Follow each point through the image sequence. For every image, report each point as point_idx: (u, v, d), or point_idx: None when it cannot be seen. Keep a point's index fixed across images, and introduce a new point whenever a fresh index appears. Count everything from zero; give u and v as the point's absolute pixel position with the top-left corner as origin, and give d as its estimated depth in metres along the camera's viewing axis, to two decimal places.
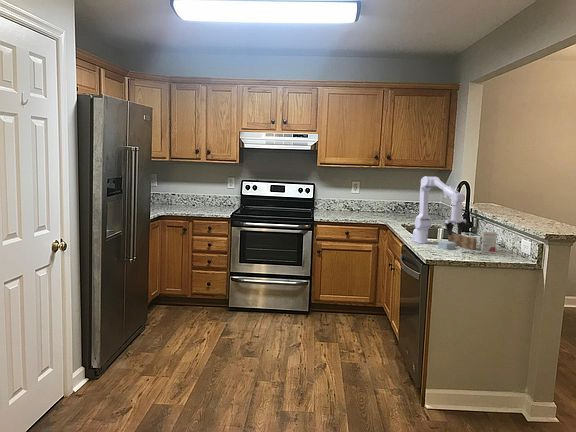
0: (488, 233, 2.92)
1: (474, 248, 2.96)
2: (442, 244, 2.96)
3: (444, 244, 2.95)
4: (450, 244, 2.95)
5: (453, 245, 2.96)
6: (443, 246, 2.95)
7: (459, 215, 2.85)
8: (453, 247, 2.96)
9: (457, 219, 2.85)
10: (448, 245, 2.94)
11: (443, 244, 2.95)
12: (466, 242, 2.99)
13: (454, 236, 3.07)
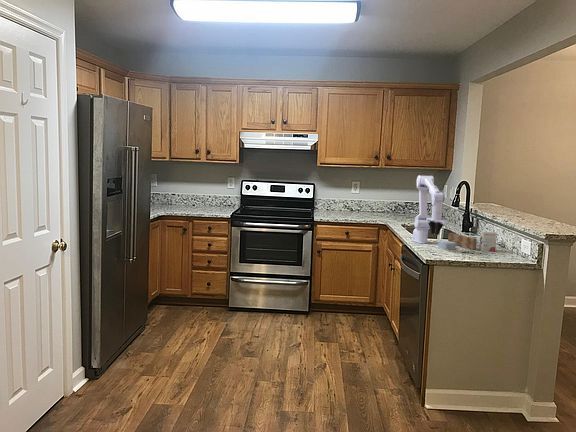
0: (488, 233, 2.92)
1: (474, 248, 2.96)
2: (442, 244, 2.96)
3: (444, 244, 2.95)
4: (450, 244, 2.94)
5: (453, 245, 2.96)
6: (443, 246, 2.95)
7: (433, 214, 2.89)
8: (453, 247, 2.96)
9: (431, 218, 2.90)
10: (448, 245, 2.94)
11: (443, 244, 2.95)
12: (466, 242, 2.99)
13: (454, 236, 3.07)
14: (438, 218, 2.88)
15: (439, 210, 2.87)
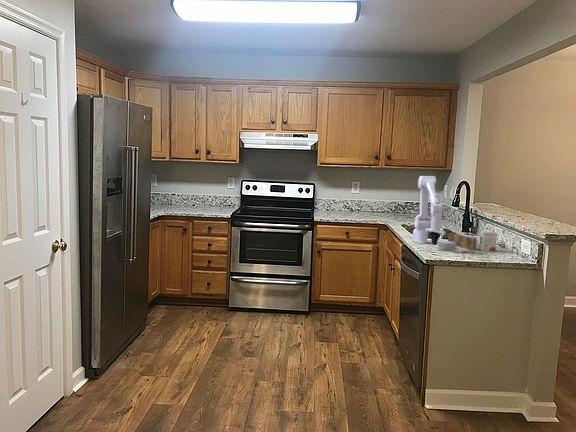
0: (488, 233, 2.92)
1: (474, 248, 2.96)
2: (442, 244, 2.96)
3: (444, 244, 2.95)
4: (450, 244, 2.94)
5: (453, 245, 2.96)
6: (443, 246, 2.95)
7: (432, 225, 2.90)
8: (453, 247, 2.96)
9: (430, 228, 2.91)
10: (448, 245, 2.94)
11: (443, 244, 2.95)
12: (466, 242, 2.99)
13: (454, 236, 3.07)
14: (437, 229, 2.89)
15: (438, 221, 2.88)
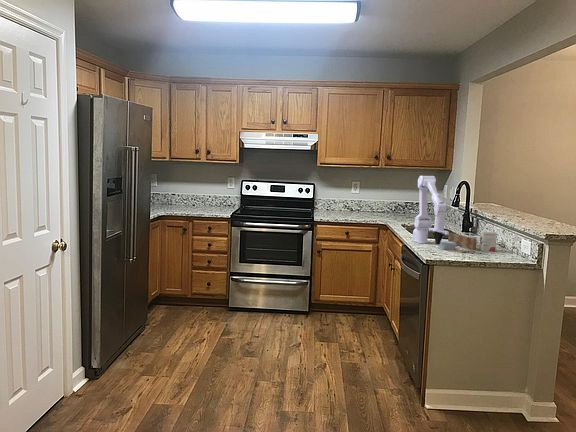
0: (488, 233, 2.92)
1: (474, 248, 2.96)
2: (442, 244, 2.96)
3: (444, 244, 2.95)
4: (450, 244, 2.94)
5: (453, 245, 2.96)
6: (443, 246, 2.95)
7: (435, 225, 2.91)
8: (453, 247, 2.96)
9: (434, 228, 2.93)
10: (448, 245, 2.94)
11: (443, 244, 2.95)
12: (466, 242, 2.99)
13: (454, 236, 3.07)
14: (441, 228, 2.90)
15: (442, 220, 2.89)
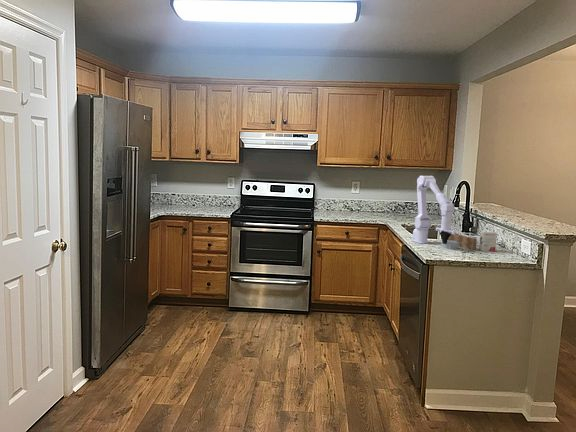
0: (488, 233, 2.92)
1: (474, 248, 2.96)
2: (445, 244, 2.97)
3: (447, 244, 2.96)
4: (453, 244, 2.96)
5: (456, 245, 2.97)
6: (446, 246, 2.97)
7: (442, 224, 2.94)
8: (456, 247, 2.97)
9: (441, 228, 2.95)
10: (451, 244, 2.95)
11: (446, 244, 2.97)
12: (466, 242, 2.99)
13: (454, 236, 3.07)
14: (447, 228, 2.93)
15: (450, 220, 2.93)
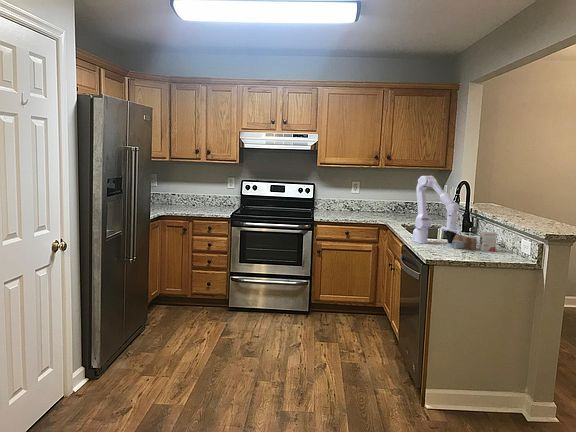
0: (488, 233, 2.92)
1: (474, 248, 2.96)
2: (451, 243, 2.99)
3: (453, 243, 2.98)
4: (459, 243, 2.98)
5: (462, 244, 2.99)
6: (452, 245, 2.99)
7: (447, 224, 2.96)
8: (462, 246, 2.99)
9: (446, 227, 2.97)
10: (457, 244, 2.97)
11: (452, 243, 2.99)
12: (466, 242, 2.99)
13: None
14: (453, 227, 2.95)
15: (456, 220, 2.95)
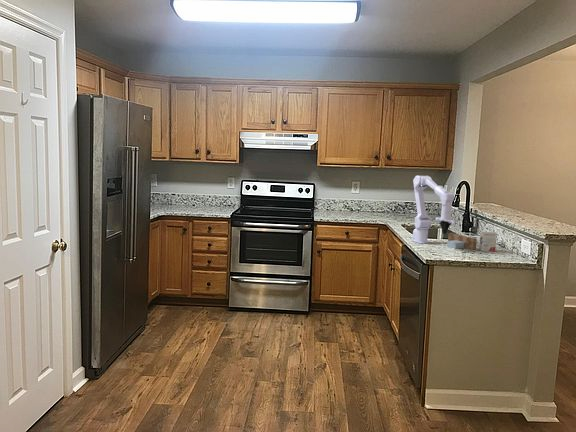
0: (488, 233, 2.92)
1: (474, 248, 2.96)
2: (451, 243, 2.99)
3: (453, 243, 2.98)
4: (459, 243, 2.98)
5: (462, 244, 2.99)
6: (452, 245, 2.99)
7: (442, 214, 2.93)
8: (462, 246, 2.99)
9: (441, 217, 2.94)
10: (457, 244, 2.97)
11: (452, 243, 2.99)
12: (466, 242, 2.99)
13: (454, 236, 3.07)
14: (447, 218, 2.91)
15: (450, 210, 2.91)
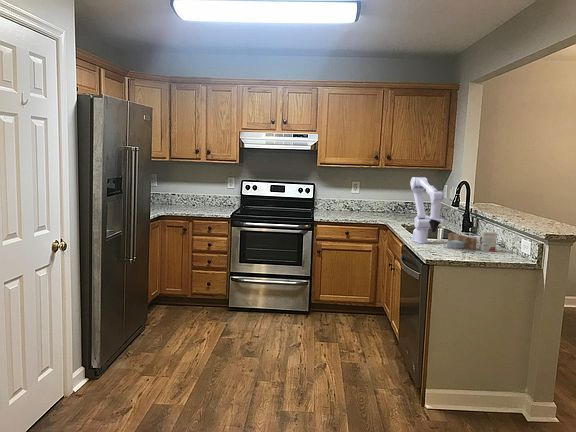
0: (488, 233, 2.92)
1: (474, 248, 2.96)
2: (451, 243, 2.99)
3: (453, 243, 2.98)
4: (459, 243, 2.98)
5: (462, 244, 2.99)
6: (452, 245, 2.99)
7: (431, 213, 2.96)
8: (462, 246, 2.99)
9: (430, 216, 2.98)
10: (457, 244, 2.97)
11: (452, 243, 2.99)
12: (466, 242, 2.99)
13: (454, 236, 3.07)
14: (437, 216, 2.95)
15: (438, 209, 2.95)
